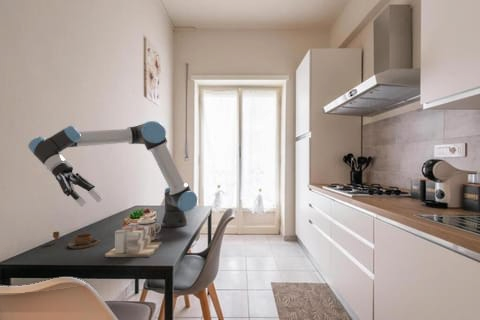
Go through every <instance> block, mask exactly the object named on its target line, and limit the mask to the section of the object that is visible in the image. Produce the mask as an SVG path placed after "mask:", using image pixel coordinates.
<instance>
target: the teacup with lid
mask: <svg viewBox="0 0 480 320" xmlns="http://www.w3.org/2000/svg"><path fill="white" fill-rule="evenodd" d="M136 223H139V225H138V228H139V227H140V226H142V225H151V242H152V241H153V240H155V239H156V234H158V233H160V231H161V229H162V224H160V223H159V222H156V220H155V219H153V218H151V217H149V215H144V216H143V218H141V219H138V220H137V221H136ZM157 225H158V226H159V227H158V230H156V226H157Z"/></svg>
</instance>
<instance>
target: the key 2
mask: <svg viewBox="0 0 480 320" xmlns="http://www.w3.org/2000/svg"><path fill="white" fill-rule="evenodd" d="M138 225H139V223H137V222H130V223H128V224H127V226H133V231H134V230H135V229H137V228H138Z"/></svg>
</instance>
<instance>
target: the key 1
mask: <svg viewBox="0 0 480 320" xmlns="http://www.w3.org/2000/svg"><path fill="white" fill-rule="evenodd" d="M114 248H115V253H124V252H126V251H127V230H121V229H117V230H115V231H114Z"/></svg>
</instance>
